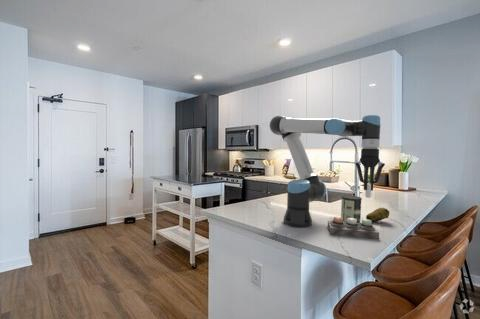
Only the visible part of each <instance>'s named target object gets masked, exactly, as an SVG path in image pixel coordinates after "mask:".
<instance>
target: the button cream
mask: <svg viewBox="0 0 480 319" xmlns="http://www.w3.org/2000/svg"><path fill="white" fill-rule="evenodd" d="M347 223H349V224H357V219H355V218H347Z"/></svg>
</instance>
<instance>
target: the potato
mask: <svg viewBox="0 0 480 319" xmlns="http://www.w3.org/2000/svg"><path fill="white" fill-rule="evenodd" d="M389 216H390V210H388V208H386V207H378V208H377V209H375V210H373V211H371V212H369V213H368V214H367V215H366V216H365V219H368V220H371V223H373V222H375V223H376V222H380V221H382V220H385V219H388V218H389Z"/></svg>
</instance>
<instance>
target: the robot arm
mask: <svg viewBox="0 0 480 319" xmlns="http://www.w3.org/2000/svg"><path fill="white" fill-rule="evenodd" d="M361 119H362V120H353V121H352V120H346V119H341V118H336V117H335V118H334V117H333V118H295V117H291V116H290V117H289V116H283V115H276V116H274V117H273V118H272V119H270V122H269V128H270V131H271V132H272V133H273V134H274V135H277V136H281V138H282V141H283V142H284V143H286V144H287V146H288V150H289V153H290V156H291V158H292V161H293V163H294V166H295V169H296V171H297V174H298V176H299V178H298V179H292V180H290V181H289V182H288V183H287V188H286V189H287V199H286V200H287V201H286V202H287V203H286V210H285V213H284V216H283V222H282V223H284V225H286V226H289V227H292V228H299V229H300V228H303V229H304V228H310V227H312V225H313V220H312V216H311V213H310V212H311V211H310V203H312V202H317V201H318V202H319V201H320V200H322V199H323V198H324V197H325V195H326V193H327V185H326V184H325V183H324V181H322V180H320V178H319V176H318V174H316V173H315V172H314V169H313V168H312V167H313V166H312V165H311V162H310V160H309V157H308V155H307V154H308V153H306V149H305V147H304V144H303V142H302V139H301V136H302V134H317V135H318V134H319V135H332V136H338V137H345V138H347V137H361V144H360V146H361V150H360V151H361V152H360V158H359V160H357V162H354V166H356V170H357V174H358V179H359V181H360V182H361V183H363V190H364V191H365V197H366V198H368V199H369V198H370V199H371V193H372V191H374V184H377V183H378V182H379V180H380V177H381V173H382V171H383V168H384V167H385V165H386V164H385V163H384V162H382V161H381V160H380V158H379V157H380V149H379V148H380V137H381V136H380V135H381V126H382V125H381V117H380V116H379V115H377V114H373V115H372V114H371V115H370V114H369V115H363V116H362V118H361ZM361 165H362V166H363V172H362V167H361ZM376 167H377V170H376V173H375V168H376ZM368 182H369V183H368Z"/></svg>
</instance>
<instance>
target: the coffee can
mask: <svg viewBox="0 0 480 319" xmlns="http://www.w3.org/2000/svg"><path fill="white" fill-rule="evenodd" d="M362 200H363V199H362V197H361V196H356V195H346V194H345V195H341V210H340V211H341V212H340V213H341V214H340V217H341V218H343V219H342V221H343V222H347V218H355V219H357V223H361V219H362V218H361V215H362V214H361V213H362Z"/></svg>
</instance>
